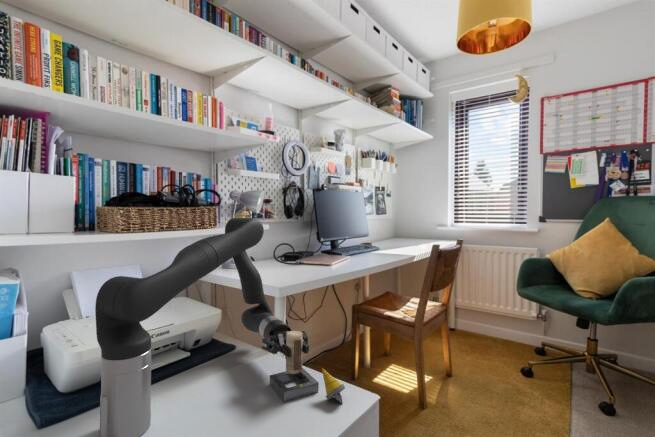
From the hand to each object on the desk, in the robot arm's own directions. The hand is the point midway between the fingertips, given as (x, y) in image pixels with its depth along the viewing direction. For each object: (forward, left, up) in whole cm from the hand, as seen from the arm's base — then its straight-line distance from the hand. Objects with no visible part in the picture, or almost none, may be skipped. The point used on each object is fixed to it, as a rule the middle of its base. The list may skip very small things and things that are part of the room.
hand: (298, 351), depth 87 cm
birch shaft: (0, +3, -6) cm, 7 cm away
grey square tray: (0, +3, -11) cm, 11 cm away
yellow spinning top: (+6, -7, -11) cm, 15 cm away
